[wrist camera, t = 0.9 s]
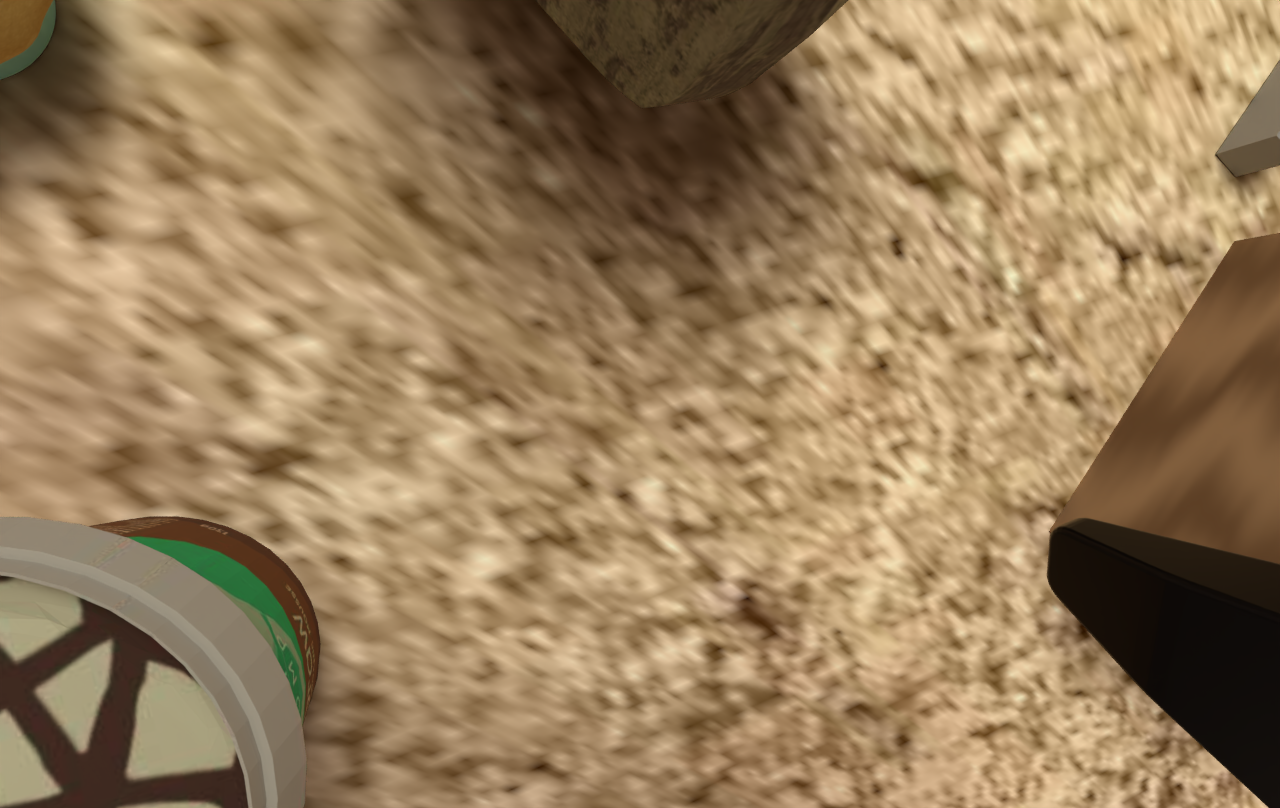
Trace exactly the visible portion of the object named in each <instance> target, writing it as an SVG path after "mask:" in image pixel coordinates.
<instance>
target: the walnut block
mask: <svg viewBox="0 0 1280 808" xmlns="http://www.w3.org/2000/svg"><path fill="white" fill-rule="evenodd" d="M1076 518H1090V519H1095V520H1099V521H1103V522H1107V523H1111V524H1116V525H1120V526H1124V527H1128V528H1132V529H1137V530H1141V531H1145V532H1149V533H1153V534H1157V535H1162V536H1166V537H1170V538H1174V539H1178V540H1182V541H1187V542H1191V543H1195V544H1199V545H1203V546H1207V547H1212V548H1216V549H1220V550H1224V551H1228V552H1232V553H1237V554H1241V555H1245V556H1249V557H1253V558H1257V559H1262V560H1266V561H1270V562H1274V563H1278V564H1280V233H1277V234H1272V235H1266V236H1261V237H1255V238H1250V239H1244V240H1239V241H1234V243H1233V244H1232V246H1231V247H1230V249H1229V251H1228V252H1227V254H1226V255H1225V257H1224V258H1223V260H1222V262H1221V263H1220V265H1219V266H1218V268H1217V269H1216V271H1215V273H1214V274H1213V276H1212V277H1211V279H1210V280H1209V282H1208V283H1207V285H1206V287H1205V288H1204V290H1203V291H1202V293H1201V294H1200V296H1199V298H1198V299H1197V301H1196V302H1195V304H1194V305H1193V307H1192V309H1191V310H1190V312H1189V313H1188V315H1187V316H1186V318H1185V319H1184V321H1183V323H1182V324H1181V326H1180V327H1179V329H1178V330H1177V332H1176V334H1175V335H1174V337H1173V338H1172V340H1171V341H1170V343H1169V345H1168V346H1167V348H1166V349H1165V351H1164V352H1163V354H1162V356H1161V357H1160V359H1159V360H1158V362H1157V363H1156V365H1155V366H1154V368H1153V370H1152V371H1151V373H1150V374H1149V376H1148V377H1147V379H1146V381H1145V382H1144V384H1143V385H1142V387H1141V388H1140V390H1139V392H1138V393H1137V395H1136V396H1135V398H1134V399H1133V401H1132V402H1131V404H1130V406H1129V407H1128V409H1127V410H1126V412H1125V413H1124V415H1123V417H1122V418H1121V420H1120V421H1119V423H1118V424H1117V426H1116V428H1115V429H1114V431H1113V432H1112V434H1111V435H1110V437H1109V439H1108V440H1107V442H1106V443H1105V445H1104V446H1103V448H1102V449H1101V451H1100V453H1099V454H1098V456H1097V457H1096V459H1095V460H1094V462H1093V464H1092V465H1091V467H1090V468H1089V470H1088V471H1087V473H1086V475H1085V476H1084V478H1083V479H1082V481H1081V482H1080V484H1079V485H1078V487H1077V489H1076V490H1075V492H1074V493H1073V495H1072V496H1071V498H1070V500H1069V501H1068V503H1067V504H1066V506H1065V507H1064V509H1063V511H1062V512H1061V514H1060V515H1059V517H1058V518H1057V520H1056V522H1055V523H1054V525H1053V526H1052V528H1051V529H1050V531H1049V532H1050V533H1051V532H1052V531H1053V529H1055V528H1056V527H1058V526H1060V525H1062V524H1065V523H1067V522H1069V521H1071V520H1073V519H1076Z"/></svg>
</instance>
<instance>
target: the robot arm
mask: <svg viewBox="0 0 1280 808" xmlns="http://www.w3.org/2000/svg"><path fill="white" fill-rule="evenodd" d="M1047 578H1048V582H1049V585H1050V587H1051V589H1052V590H1053V592H1054V593H1055V595H1056V596H1057V597H1058V598H1059V599H1060V601H1061V602H1062V603H1063V604H1064V605H1065V606H1066V607H1067V608H1068V609H1069V610H1070V612H1071V613H1072V614H1073V615H1074V616H1075V617H1076V618H1077V619H1078V620H1079V621H1080V623H1081V624H1082V625H1083V626H1084V627H1085V628H1086V629H1087V630H1088V631H1089V632H1090V634H1091V635H1092V636H1093V637H1094V638H1095V639H1096V640H1097V641H1098V642H1099V643H1100V645H1101V646H1102V647H1103V648H1104V649H1105V650H1106V651H1107V652H1108V653H1109V654H1110V656H1111V657H1112V658H1113V659H1114V660H1115V661H1116V662H1117V663H1118V664H1119V665H1120V666H1121V668H1122V669H1123V670H1124V671H1125V672H1126V673H1127V674H1128V675H1129V676H1130V677H1131V678H1132V680H1133V681H1134V682H1135V683H1136V684H1137V685H1138V686H1139V687H1140V688H1141V689H1142V690H1143V691H1144V692H1145V693H1146V694H1147V695H1148V696H1149V697H1150V698H1151V699H1152V700H1153V701H1154V702H1155V703H1156V704H1157V705H1158V706H1159V707H1160V708H1162V709H1163V710H1164V711H1165V712H1166V713H1167V714H1168V715H1169V716H1170V717H1171V718H1172V719H1173V720H1174V721H1176V722H1177V723H1178V724H1179V725H1180V726H1181V727H1182V728H1183V729H1184V730H1185V731H1186V732H1187V733H1189V734H1190V735H1191V736H1192V737H1193V738H1194V739H1195V740H1196V741H1197V742H1198V743H1199V744H1200V745H1202V746H1203V747H1204V748H1205V749H1206V750H1207V751H1208V752H1209V753H1210V754H1211V755H1212V756H1213V757H1214V758H1216V759H1217V760H1218V761H1219V762H1220V763H1221V764H1222V765H1223V766H1224V767H1225V768H1226V769H1227V770H1229V771H1230V772H1231V773H1232V774H1233V775H1234V776H1235V777H1236V778H1237V779H1238V780H1239V781H1240V782H1242V783H1243V784H1244V785H1245V786H1246V787H1247V788H1248V789H1249V790H1250V791H1251V792H1252V793H1253V794H1255V795H1256V796H1257V797H1258V798H1259V799H1260V800H1261V801H1262V802H1263V803H1264V804H1265V805H1266V806H1267V807H1269V808H1280V564H1278V563H1274V562H1270V561H1266V560H1262V559H1257V558H1253V557H1249V556H1245V555H1241V554H1237V553H1232V552H1228V551H1224V550H1220V549H1216V548H1212V547H1207V546H1203V545H1199V544H1195V543H1191V542H1187V541H1182V540H1178V539H1174V538H1170V537H1166V536H1162V535H1157V534H1153V533H1149V532H1145V531H1141V530H1137V529H1132V528H1128V527H1124V526H1120V525H1116V524H1111V523H1107V522H1103V521H1099V520H1095V519H1090V518H1076V519H1073V520H1071V521H1069V522H1067V523H1065V524H1062V525H1060V526H1058V527H1056V528H1055V529H1053V531H1052V532H1051V534H1050V540H1049V554H1048V567H1047Z"/></svg>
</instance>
